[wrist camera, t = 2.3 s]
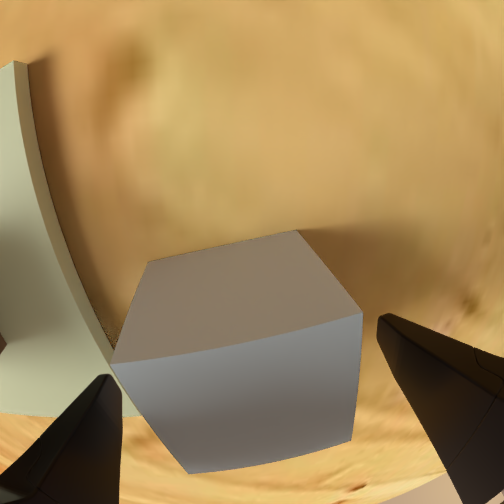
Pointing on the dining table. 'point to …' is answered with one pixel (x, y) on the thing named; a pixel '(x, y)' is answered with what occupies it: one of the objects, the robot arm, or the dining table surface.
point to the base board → (40, 279)
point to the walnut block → (2, 343)
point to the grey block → (242, 353)
